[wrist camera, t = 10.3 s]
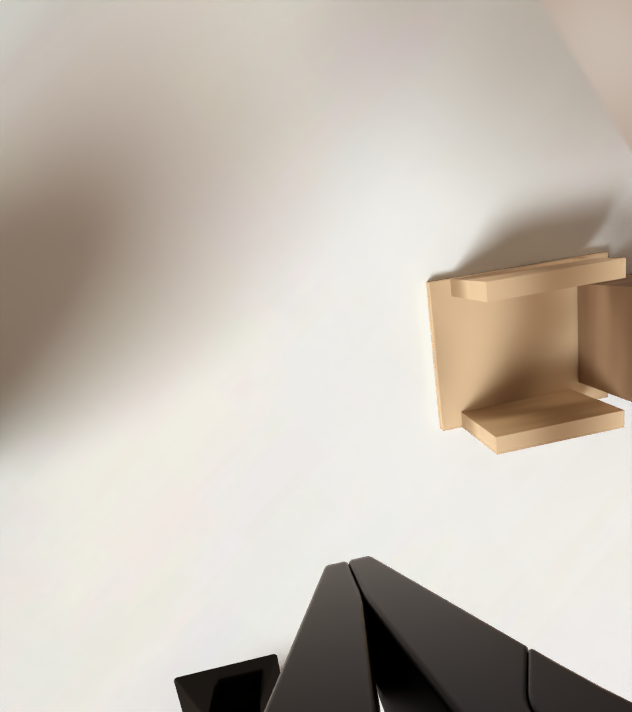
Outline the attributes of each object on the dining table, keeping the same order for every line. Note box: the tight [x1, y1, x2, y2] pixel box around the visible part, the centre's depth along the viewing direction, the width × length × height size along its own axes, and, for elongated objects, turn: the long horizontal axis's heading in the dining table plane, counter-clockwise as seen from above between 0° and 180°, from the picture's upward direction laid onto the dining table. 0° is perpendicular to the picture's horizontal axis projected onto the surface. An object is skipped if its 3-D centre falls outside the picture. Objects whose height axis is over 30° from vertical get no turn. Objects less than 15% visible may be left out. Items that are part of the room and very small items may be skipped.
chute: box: [426, 252, 626, 454], centre depth 20 cm, size 9×7×4 cm
